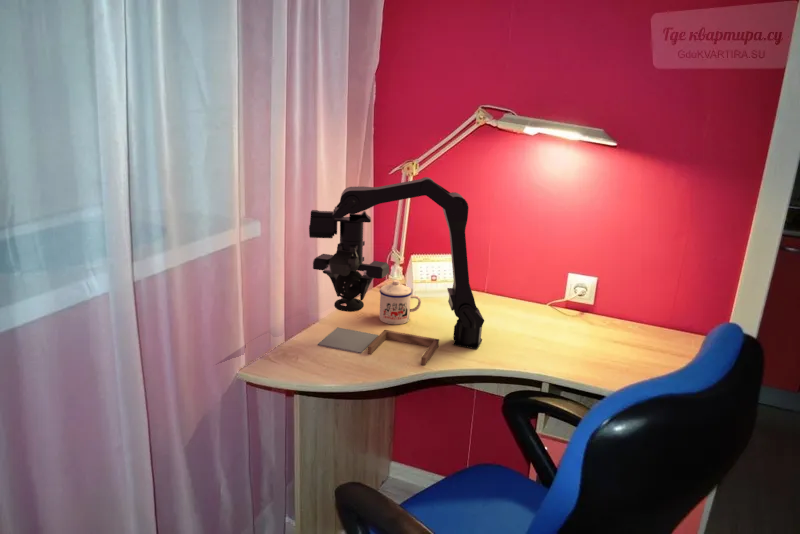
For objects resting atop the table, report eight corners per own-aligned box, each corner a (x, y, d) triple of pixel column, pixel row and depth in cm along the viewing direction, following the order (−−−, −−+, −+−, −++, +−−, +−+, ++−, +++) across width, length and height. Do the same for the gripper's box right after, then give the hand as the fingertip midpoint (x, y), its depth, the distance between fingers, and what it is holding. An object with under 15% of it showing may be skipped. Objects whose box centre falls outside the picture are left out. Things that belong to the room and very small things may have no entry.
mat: (378, 336, 160) (378, 334, 159) (361, 353, 149) (361, 352, 148) (337, 328, 163) (337, 327, 163) (317, 345, 152) (317, 343, 152)
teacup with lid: (380, 325, 167) (381, 285, 163) (377, 313, 175) (378, 275, 172) (422, 325, 168) (424, 286, 165) (417, 313, 177) (419, 276, 174)
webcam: (341, 314, 148) (341, 275, 145) (329, 304, 154) (329, 267, 152) (369, 309, 152) (370, 272, 149) (356, 300, 158) (357, 264, 155)
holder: (438, 346, 155) (439, 339, 154) (425, 365, 144) (425, 357, 144) (384, 336, 160) (384, 329, 159) (367, 354, 149) (367, 346, 148)
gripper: (302, 241, 143) (302, 302, 148) (374, 251, 138) (372, 314, 142) (322, 231, 154) (322, 289, 158) (391, 240, 148) (388, 299, 152)
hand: (350, 298), depth 152 cm, fingers closed on webcam, 6 cm apart
